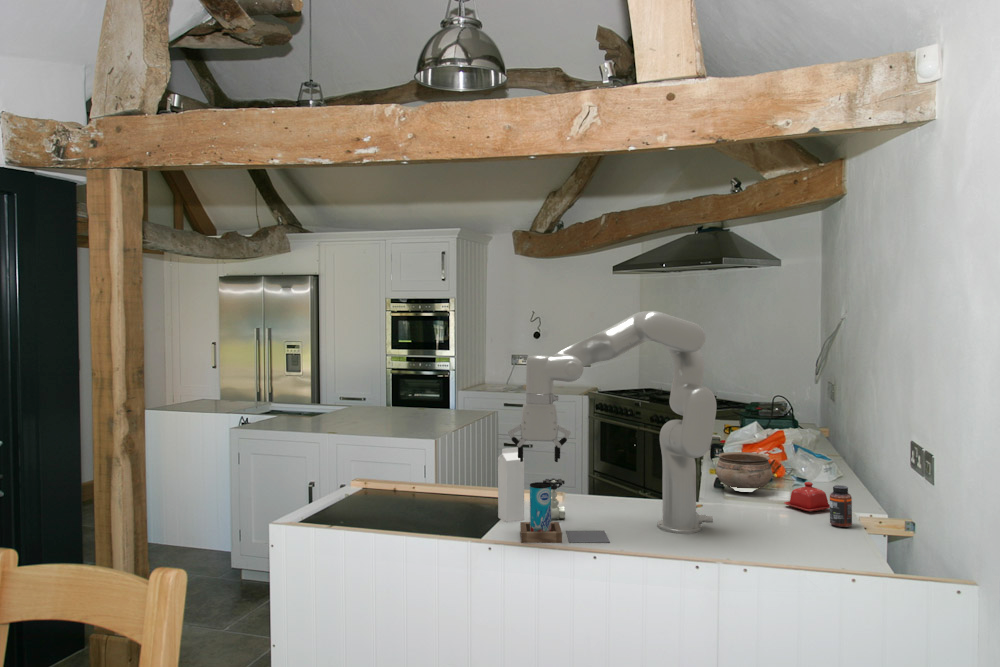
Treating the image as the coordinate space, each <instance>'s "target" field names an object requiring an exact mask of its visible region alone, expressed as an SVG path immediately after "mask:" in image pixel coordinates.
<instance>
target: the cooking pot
mask: <svg viewBox="0 0 1000 667" xmlns="http://www.w3.org/2000/svg"><path fill="white" fill-rule="evenodd" d="M717 456H718V458H719V459H718V461H717V463H716V467H715V474H716V476H717V478H718V480H719V481H720V482H721V483H722V484H724V485H725V486H726V485H727V486H726V487H728V486H731V487H737V488H759V487H762V488H763V487H765V486H767V485H768V484H769V483H770V481H771V479H772V477H773V470H772V466H771V464H770V462H769V460H770V458H771V457H770V456H768V455H767V454H762V453H755V452H747V451H745V452H742V451H741V452H740V451H729V452H728V451H727V452H721V453H719V454H717Z"/></svg>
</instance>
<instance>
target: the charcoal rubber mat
mask: <svg viewBox="0 0 1000 667" xmlns="http://www.w3.org/2000/svg"><path fill="white" fill-rule="evenodd" d="M565 534H566V536H567V539H568V543H569V544H611V541H610V540H609V536H608V535H607V533H606V531H605V530H597V529H596V530H594V529H593V530H565Z"/></svg>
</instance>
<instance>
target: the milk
mask: <svg viewBox="0 0 1000 667" xmlns="http://www.w3.org/2000/svg"><path fill="white" fill-rule="evenodd" d="M497 496H498V497H497V499H498V500H497V501H498V502H497V506H498V508H497V512H498V514H497V517H498V519H499V520H502V521H503V520H504V521H503V522H505V523H512V522H519V521H521V522H522V521H525V458H524V457H523V461H522V462H520V458H518V447H517V446H515V447H505V448H502V449H501V454H500V455H498V457H497Z"/></svg>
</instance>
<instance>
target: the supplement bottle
mask: <svg viewBox="0 0 1000 667" xmlns="http://www.w3.org/2000/svg"><path fill="white" fill-rule="evenodd" d="M852 501H853V497H852V495H851V494H850V493H849V487H848V486H847V485H840V484H839V485H838V484H837V485H835V484H834V485H833V486H832V492H831V493H830V494H829V504H830V508H829V523H830V524H831V526H834V527H839V528H847V527H851V526H852V524H853V513H852V512H853V509H852V508H853V507H852V506H853V502H852Z"/></svg>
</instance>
